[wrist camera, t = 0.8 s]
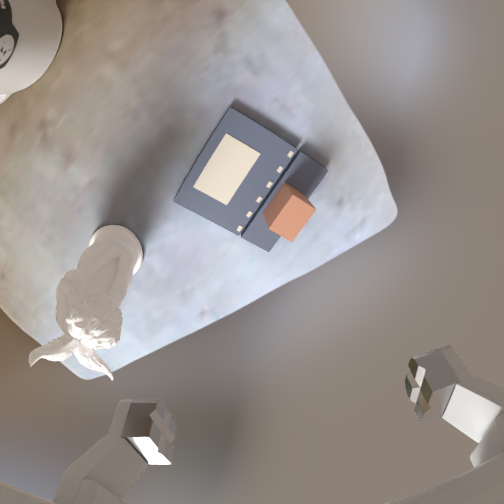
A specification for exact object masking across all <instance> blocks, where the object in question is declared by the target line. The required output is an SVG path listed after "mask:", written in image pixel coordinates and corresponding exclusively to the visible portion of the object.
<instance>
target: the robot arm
mask: <svg viewBox="0 0 504 504" xmlns="http://www.w3.org/2000/svg"><path fill="white" fill-rule="evenodd" d="M61 36H62V18H61V14H60V11H59V9H58V7H57V4H56V0H0V104H1V103H3V102H4V101H5V100H6V99H7V98H8V97H9V96H10V95H11V94H13V93H14V92H17V91H20V90H22V89H25V88H27V87H28V86H30V85H31V84H33V83H34V82H35V81H37V80H38V79H39V78H40V77H41V76H42V75H43V74H44V72H45V71H46V70H47V68H48V67H49V65H50V64H51V62H52V61H53V59H54V57H55V55H56V52H57V50H58V47H59V44H60V41H61ZM408 367H409V369H410V371H409V372H408V373H407V374H406V378H405V388H406V392H407V395H408V397H409V399H410V400H411V401H413V402H415V403H416V405H415V408H414V411H415V413H416V415H417V417H418V419H419V422H420V424H423V423H426V422H429V421H431V420H434V419H437V418H440V417H442V418H443V419H445V420H446V421H448V422H449V423H451V424H452V425H453V426H455V427H456V428H457V429H459V430H460V431H462V432H463V433H465V434H466V435H467V436H469V437H470V438H472V439H473V440H475V441H476V442H478V443H479V444H478V445H477V446H476V448H475V449H474V451H473V452H472V453H471V456H470V459H471V461H472V463H473V466H474V468H472V469H470V470H468V471H466V472H464V473H462V474H460V475H458V476H456V477H454V478H452V479H449V480H447V481H445V482H443V483H440V484H438V485H436V486H433V487H431V488H428V489H426V490H423V491H420V492H418V493H415V494H412V495H410V496H407V497H404V498H401V499H398V500H395V501H392V502H389V503H386V504H504V388H502V387H500V386H498V385H496V384H494V383H492V382H490V381H487V380H485V379H483V378H481V377H479V376H477V375H475V376H472V375H471V373H470V371H469V370H468V368H467V367H466V366H465V364H464V363H463V361H462V360H461V358H460V357H459V355H458V354H457V353H456V351H455V350H454V348H453V347H452V346H451V345H448V346H445V347H442V348H439V349H435V350H432V351H430V352H426V353H423V354H420V355H418V356H415V357H411V359H410V360H409V363H408ZM175 436H176V423H175V420H174V417H173V416H172V414H171V413H169V412H168V411H166V405H165V403H164V402H163V400H121V401H120V402H119V403H118V405H117V408H116V411H115V414H114V417H113V420H112V423H111V426H110V429H109V433H108V436H104V437H102V438H101V439H100V440H99V441H98V442H97V443H96V444H95V445H94V446H92V447H91V448H90V449H89V450H88V451H87V452H86V453H85V454H84V455H82V456H81V457H80V458H79V459H78V460H77V461H76V462H74V463H73V464H72V465H71V466H70V467H69V468H68V469H66V470H65V471H64V472H63V473H62V476H61V479H60V482H59V486H58V489H57V492H56V495H55V498H54V501H50V500H47V499H44V498H41V497H38V496H35V495H33V494H30V493H28V492H25V491H23V490H20V489H18V488H15V487H13V486H10V485H8V484H6V483H4V482H2V481H0V504H126V503H125V502H123V501H122V500H121V499H122V498H123V497H124V496H125V495H126V493H127V492H128V491H129V490H130V489H131V487H132V486H133V485H134V484H135V482H136V481H137V480H138V479H139V477H140V476H141V475H142V474H143V472H144V471H145V470H146V469H147V467H148V466H149V464H171V462H172V456H173V450H174V449H173V447H172V445H171V444H170V443H171V442H172V441H173V440H174V439H175Z"/></svg>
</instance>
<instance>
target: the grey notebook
mask: <svg viewBox="0 0 504 504" xmlns="http://www.w3.org/2000/svg"><path fill="white" fill-rule="evenodd" d="M297 151H298V149H296V148H295V147H294V146H292V145H291V144H289V143H287V142H286V141H284V140H283V139H281V138H280V137H278V136H277V135H275V134H274V133H272V132H270V131H269V130H267V129H266V128H264V127H263V126H261V125H259V124H258V123H256V122H255V121H253V120H251V119H250V118H248V117H246V116H245V115H243V114H241V113H240V112H238V111H236V110H235V109H233V108H231V107H229V109H228V111H227V112H226V114H225V115H224V117H223V118H222V120H221V121H220V123H219V124H218V126H217V128H216V129H215V131H214V132H213V134H212V136H211V137H210V139H209V140H208V142H207V144H206V145H205V147H204V149H203V150H202V152H201V153H200V155H199V157H198V158H197V160H196V162H195V164H194V165H193V167H192V169H191V170H190V172H189V174H188V175H187V177H186V179H185V181H184V182H183V184H182V186H181V188H180V189H179V191H178V193H177V195H176V197H175V198H174V202H175V203H177V204H179V205H181V206H183V207H185V208H187V209H189V210H191V211H193V212H195V213H196V214H198V215H200V216H202V217H204V218H206V219H208V220H210V221H212V222H214V223H215V224H217V225H219V226H221V227H223V228H225V229H227V230H229V231H231V232H233V233H234V234H236V235H238V236H239V235H240V233H241V232H242V230H243V229H244V227H245V226H246V224H247V223H248V221H249V220H250V219H251V217H252V216H253V214H254V213H255V211H256V210H257V208H258V207H259V205H260V204H261V202H262V201H263V200H264V198H265V197H266V195H267V194H268V192H269V191H270V189H271V188H272V186H273V185H274V184H275V182H276V181H277V179H278V178H279V176H280V175H281V173H282V172H283V171H284V169H285V168H286V166H287V165H288V163H289V162H290V161H291V159H292V158H293V156H294V155H295V153H296V152H297Z"/></svg>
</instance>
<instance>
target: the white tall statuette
mask: <svg viewBox="0 0 504 504" xmlns="http://www.w3.org/2000/svg"><path fill="white" fill-rule="evenodd" d="M142 259H143V252H142V247H141V244H140V242H139V240H138V238H137V237H136V236H135V235H134V234H133V232H131V231H130V230H129V229H127V228H126V227H122V226H120V225H107V226H103V227H100V229H98V230H97V231H96V232H95V233H94V234H93V236H92V237H91V240H90V243H89V247H88V248H87V249H86V250H85V251H84V253H83V254H82V256H81V257H80V260H79V263H78V267H77V270H75V269H73V270H70V271H68V272H67V273H66V274H65V276H64V278H62V279H61V281H60V283H59V285H58V287H57V291H56V300H57V306H56V320H57V323H58V325H59V327H60V328H61V330H62V331H63V332H65V333H64V334H63V335H62V336H61V337H58V338H57V339H54V340H52V342H49V343H48V344H46V345H44V346H41V347H39V348H36V349H35V350H33V351H32V352H31V353H30V354H29V356H30V357H29V360H28V361H29V362H30V367H32V365H33V364H34V363H35V362H36V361H37V360H38V359H40V358H46V359H47V360H52V361H60V360H62V361H63V360H65V359H66V358H67V357H70V356H71V355H72V354H73V352H74V353H75V355H76V357H77V359H78V360H79V362H80V363H81V364H83V365H85V366H86V367H87V368H89V369H93V370H97V371H99V372H100V371H101V372H104V373H106V374H107V375H108V376H109V377H110V378H111V380H113V375H112V373H111V371H110V369H109V368H108V366H107V364H105V363H104V361H103V360H102V359H101V358H100V357H99V356H98V355H97V354H96V353H95V352H94V350H95V349H97V350H98V349H100V348H112V347H114V346H115V345H116V344H117V342H118V341H119V340H120V332H121V326H122V320H123V319H122V316H121V315H122V313H121V309H119V306H120V304H121V302H122V300H123V299H124V297H125V295H126V292H127V289H128V288H129V286H130V284H131V282H132V278H133V274H135V273H136V272H137V271H138V269H139V268H140V266H141V264H142Z"/></svg>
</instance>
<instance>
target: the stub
mask: <svg viewBox="0 0 504 504" xmlns="http://www.w3.org/2000/svg"><path fill="white" fill-rule="evenodd" d="M327 172H328V170H327V169H325V168H324V167H323V166H321V165H320V164H318V163H317V162H315V161H314V160H313V159H311V158H310V157H308V156H307V155H305V154H304V153H302V152H301V151H299V150H298V151H297V153H296V154H295V155H294V157H293V158H292V160H291V161H290V163H289V164H288V166H287V167H286V168H285V170H284V171H283V173H282V174H281V176H280V177H279V178H278V180H277V181H276V183H275V184H274V186H273V187H272V189H271V190H270V191H269V193H268V194H267V196H266V197H265V199H264V200H263V202H262V203H261V205H260V206H259V207H258V209H257V210H256V212H255V213H254V215H253V216H252V218H251V219H250V221H249V222H248V224H247V225H246V227H245V228H244V229H243V231H242V232H241V238H243V239H245V240H247V241H249V242H251V243H253V244H255V245H257V246H258V247H260V248H262V249H264V250H266V251H268V252H269V251H270V250H271V249H272V247H273V246H274V245H275V243H276V242H277V240H278V239H279V238H280V236H282V237H284V238H286V239H287V240H289V241H291V242H292V241H293V240H294V239H295V237H296V236H297V235H298V233H299V232H300V231H301V229H302V228H303V227H304V225H305V224H306V223H307V221H308V220H309V219H310V217H311V216H312V214H313V213H314V212H315V210H316V209H315V208H314V206H313V205H312V204H311V202H310V201H309V200H308V198H309V197H310V195H311V194H312V193H313V191H314V190H315V188H316V187H317V186H318V184H319V183H320V181H321V180H322V179H323V177H324V176H325V175H326V173H327Z"/></svg>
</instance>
